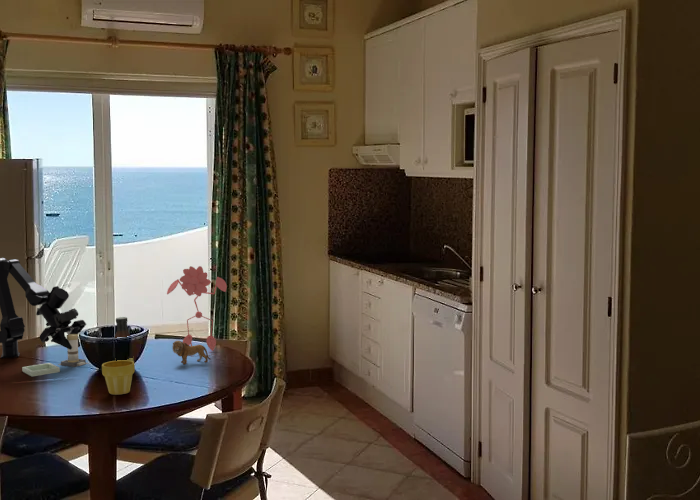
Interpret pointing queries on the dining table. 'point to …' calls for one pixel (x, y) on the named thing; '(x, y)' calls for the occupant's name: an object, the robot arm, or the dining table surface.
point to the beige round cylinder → (73, 348)
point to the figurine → (197, 285)
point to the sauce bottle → (122, 329)
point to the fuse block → (75, 364)
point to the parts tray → (40, 369)
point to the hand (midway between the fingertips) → (75, 347)
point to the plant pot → (118, 376)
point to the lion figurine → (189, 351)
